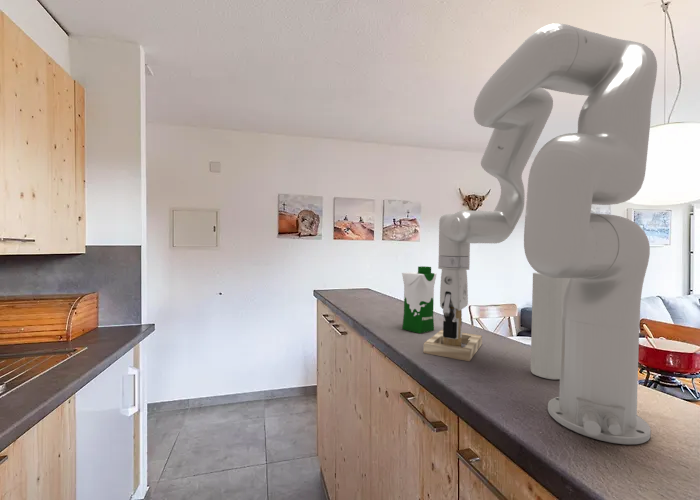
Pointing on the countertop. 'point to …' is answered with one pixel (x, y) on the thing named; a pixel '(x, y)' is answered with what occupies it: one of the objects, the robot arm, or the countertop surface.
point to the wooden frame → (462, 353)
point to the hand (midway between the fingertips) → (452, 334)
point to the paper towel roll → (546, 325)
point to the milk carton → (419, 300)
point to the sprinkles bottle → (459, 331)
